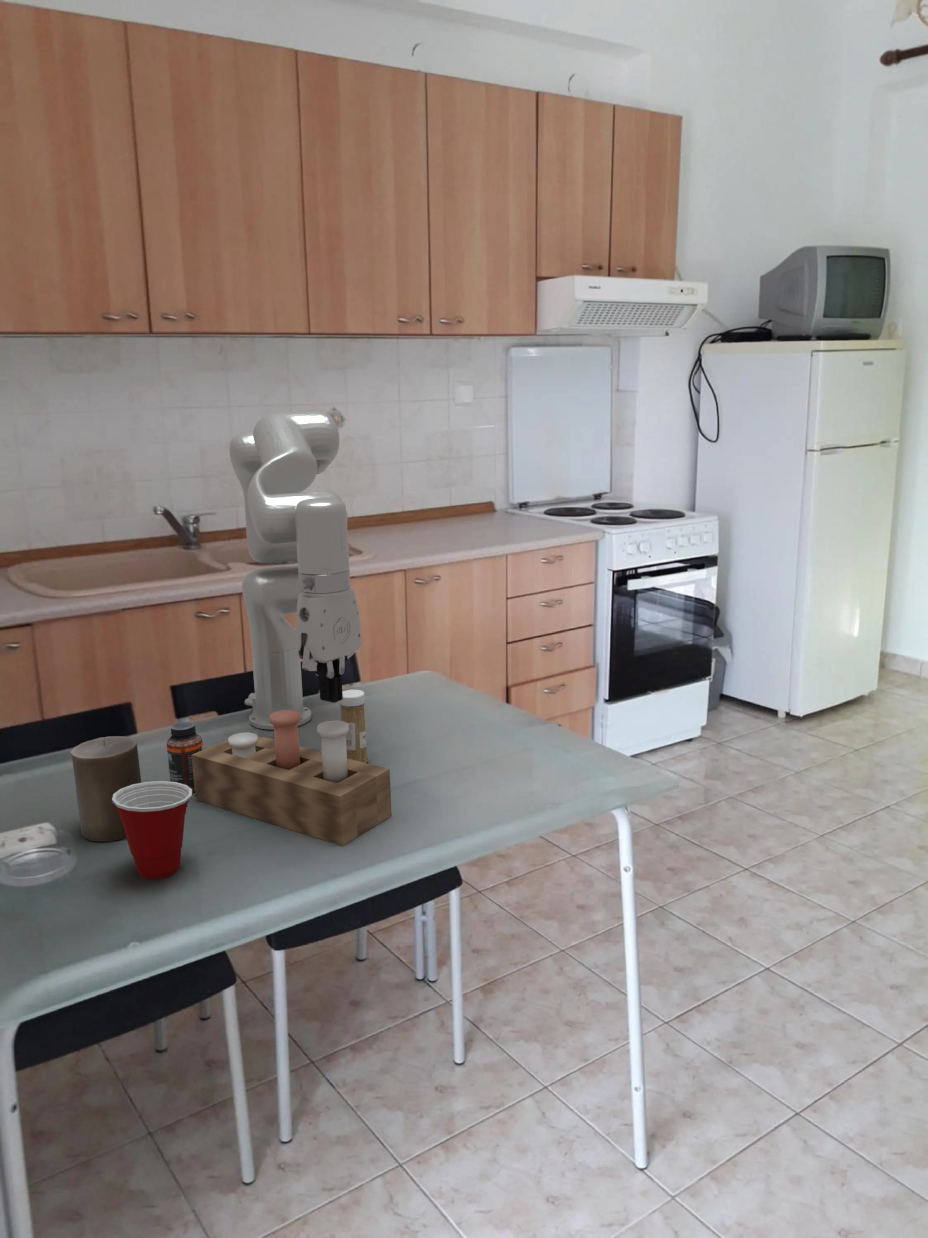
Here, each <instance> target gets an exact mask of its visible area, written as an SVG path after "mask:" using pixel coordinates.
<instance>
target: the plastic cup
mask: <svg viewBox="0 0 928 1238" xmlns="http://www.w3.org/2000/svg"><path fill="white" fill-rule="evenodd" d="M192 794H193V792H192V789H191V788H189V787H188V786H187V785H184V784H181V783H177V782H171V781H167V780H166V781H165V780H158V781H157V780H156V781H145V782H142V783H138V784H133V785H130V786H127V787H125V788H122V789H120V790H118V791H117V792H116V793H114V794H113V798H112V801H113V803H114V804H115V805H116V808H117V810H118V813H119V815H120V820H121V821H122V824H123V828H124V831H125V834H126V838H125V839H126V841H127V844H128V847H129V851H130V855H132V858H133V862H134V865H135V869H136V871H137V873H138V875H139V876H140V877H141V878H144V879H146V878H148V880H156V879H164V878H167V877H170V876H172V875H173V874H175V873H177V871H178V870H179V869H180V865H181V860H182V859H181V856H182V848H183V842H184V840H183V839H184V827H185V820H186V819H185V818H186V813H187V808H188V804H189V801H190V799H191V798H192V797H193V795H192Z"/></svg>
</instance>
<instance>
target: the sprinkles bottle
mask: <svg viewBox="0 0 928 1238" xmlns="http://www.w3.org/2000/svg"><path fill="white" fill-rule="evenodd" d="M342 693H343V699H342V700H340V701H338V703H339V706H340V721H344V722H346V723H348V725H349V732H348V733H347V734H346V749H347V758H348V759H352V760H356V761H360V762H364V763H368V761H369V760H368V750H367V749H368V748H367V744H368V743H367V731H366V729H367V728H366V720H365V718H366V717H365V702H366V696H365V691H363V690H360V689H347V690H342Z"/></svg>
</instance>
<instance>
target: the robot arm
mask: <svg viewBox="0 0 928 1238" xmlns="http://www.w3.org/2000/svg"><path fill="white" fill-rule="evenodd" d="M339 449H340V433H339V428H338V425H337V424H336V422H335V420H334V418H333V417H332V416H331V415H330V414H329V413H327V412H324V411H323V410H322V411H321V410H305V411H303V410H299V411H298V410H297V411H278V412H272V413H268V414H266V415H264V416H261V417H260V418H259V420H257V422H256V423H255V424H254V428H253V431H245V432H241V433H237V434H236V435H234V436H233V437H232V438H231V440H230V442H229V458H230V463H231V466H232V469H233V471H234V473H235V476H236V478H237V480H238V481H239V484H240V486H241V489H242V493H243V498H244V513H245V515H244V516H245V531H246V543H247V551H248V554H249V556H250V557H251V559H252V560H253V561H255V562H257V563H261V564H262V563H263V564H273V563H274V564H275V563H286V562H287V563H288V562H297V565H288V566H286V565H284V566H273V567H271V566H270V567H264V568H258V569H254V570H253V571H250V572H249V573H247V574H246V575H245V576H244V578H243V579H242V585H241V592H242V597H243V602H244V605H245V610H246V611H245V612H246V615H247V621H248V628H249V635H250V647H251V658H252V659H251V660H252V671H253V672H252V673H253V684H254V685H253V686H254V692H251V693H250V694H249V695H248V698H246V699H245V700H244V705H246V706H249V707H252V712H251V713H250V714H249V716H248V722H250V723H249V724H250V725H251V726H253V727H255V728H257V729H260V730H261V729H262V730H270V731H271V730H273V731H274V726H273V725H272V724H271V723H270V714H272V713H273V712H276V711H280V710H295V711H298V712H300V719H301V720H300V722H298V727H299V726H303V725H304V724H306V723H308V722H310V720H311V719H312V710H311V709H310V708H308V707H307V706H304V699H303V698H304V696H303V682H302V679H303V678H302V670H303V671H308V672H314V674H315V676H316V677H318V686H319V688H318V689H319V699H320V700H321V701H324V702H328V703H337V702H338V703H339V701H340V700H342V699H343V693H342V692H343V677H342V675H343V674H345V668H346V667H345V664H346V662H347V661H348V659H350V658H351V657H352V656H353V655H355V652H357V651H359V650H360V648H361V647H362V629H361V618H360V612H359V607H358V601H357V596H356V593H355V589H354V587H352V586H351V574H350V552H349V534H348V533H349V532H348V522H349V521H348V519H349V518H348V517H349V515H348V514H349V513H348V508H347V505H346V502H345V501H344V500H343V499H342V498H341V496H340V495H339V494H337V493H336V492H333V491H313V492H312V491H310V492H307V491H305V490H307V489H308V488H309V487H310V486H311V485H312V484H313V483H314V482H315V481H314V480H315V479H316V476H317V475H319V474H322V473H324V472H325V471H326V470H327V468H328V467H329V466H330V465H331V464H332V463H333V461H334V459H335V458H336V457H337V455H338V452H339ZM303 491H305V492H303ZM292 614H296V615H295V616H296V617H295V618H296V619H295V620H296V621H295V622H296V623H295V627H294V626H293V625H292V624H291V623H290V622H289V621H288V620H287V619H285V616H288V615H292ZM301 660H302V661H301ZM301 662H302V664H301Z"/></svg>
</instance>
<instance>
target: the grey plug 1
mask: <svg viewBox="0 0 928 1238" xmlns="http://www.w3.org/2000/svg"><path fill="white" fill-rule="evenodd" d="M258 736H259V735H258V734H256V733H254V732H237V733H234V734H232V735H229V737H228V738H227V740H228V744H229V746H230V747H232V755H235V756H239V757H242V758H244V757H247V756H249V755H251V754H253V753H255V752H256V749H255V745H256V744H257V743H258Z"/></svg>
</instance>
